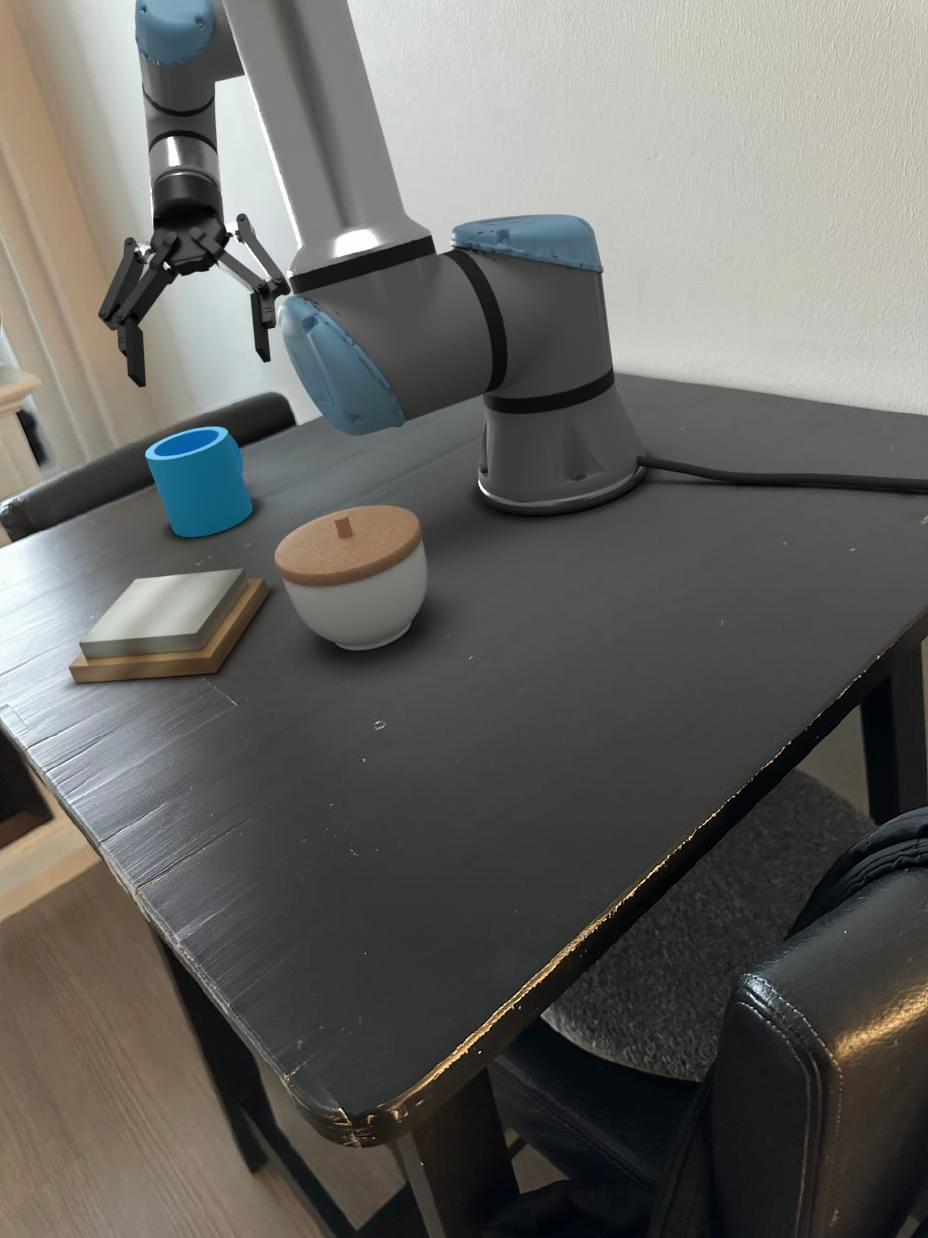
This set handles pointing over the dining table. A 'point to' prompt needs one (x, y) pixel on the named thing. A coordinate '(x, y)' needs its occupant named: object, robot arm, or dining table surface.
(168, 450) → the mug
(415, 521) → the trinket box
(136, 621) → the pad stack
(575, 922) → the dining table surface
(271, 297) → the robot arm
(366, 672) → the dining table surface
